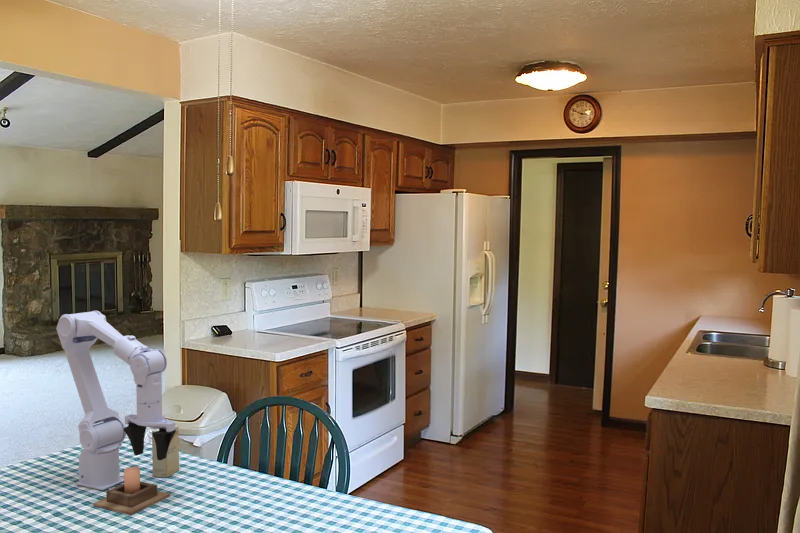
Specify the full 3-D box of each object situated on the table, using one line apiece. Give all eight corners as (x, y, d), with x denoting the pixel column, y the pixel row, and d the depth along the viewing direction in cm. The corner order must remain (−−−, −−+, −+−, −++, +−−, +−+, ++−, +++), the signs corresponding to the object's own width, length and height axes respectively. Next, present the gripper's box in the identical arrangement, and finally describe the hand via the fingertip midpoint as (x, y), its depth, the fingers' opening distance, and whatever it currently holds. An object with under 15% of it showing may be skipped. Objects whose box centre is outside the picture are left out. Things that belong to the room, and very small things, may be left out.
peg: (121, 499, 157) (120, 470, 156) (133, 494, 160) (132, 465, 159) (131, 502, 155) (131, 473, 155) (143, 497, 158) (143, 468, 158)
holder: (93, 505, 154) (92, 492, 154) (133, 487, 165) (133, 475, 165) (131, 515, 149) (130, 502, 149) (170, 496, 160) (169, 483, 160)
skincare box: (167, 478, 172) (166, 432, 171) (151, 476, 173) (151, 431, 172) (179, 469, 178) (179, 425, 177) (164, 468, 179) (164, 424, 178)
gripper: (184, 400, 160) (185, 456, 160) (140, 393, 166) (141, 447, 167) (162, 407, 153) (163, 465, 154) (117, 400, 160) (118, 455, 160)
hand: (150, 456), depth 160 cm, fingers open, 7 cm apart
